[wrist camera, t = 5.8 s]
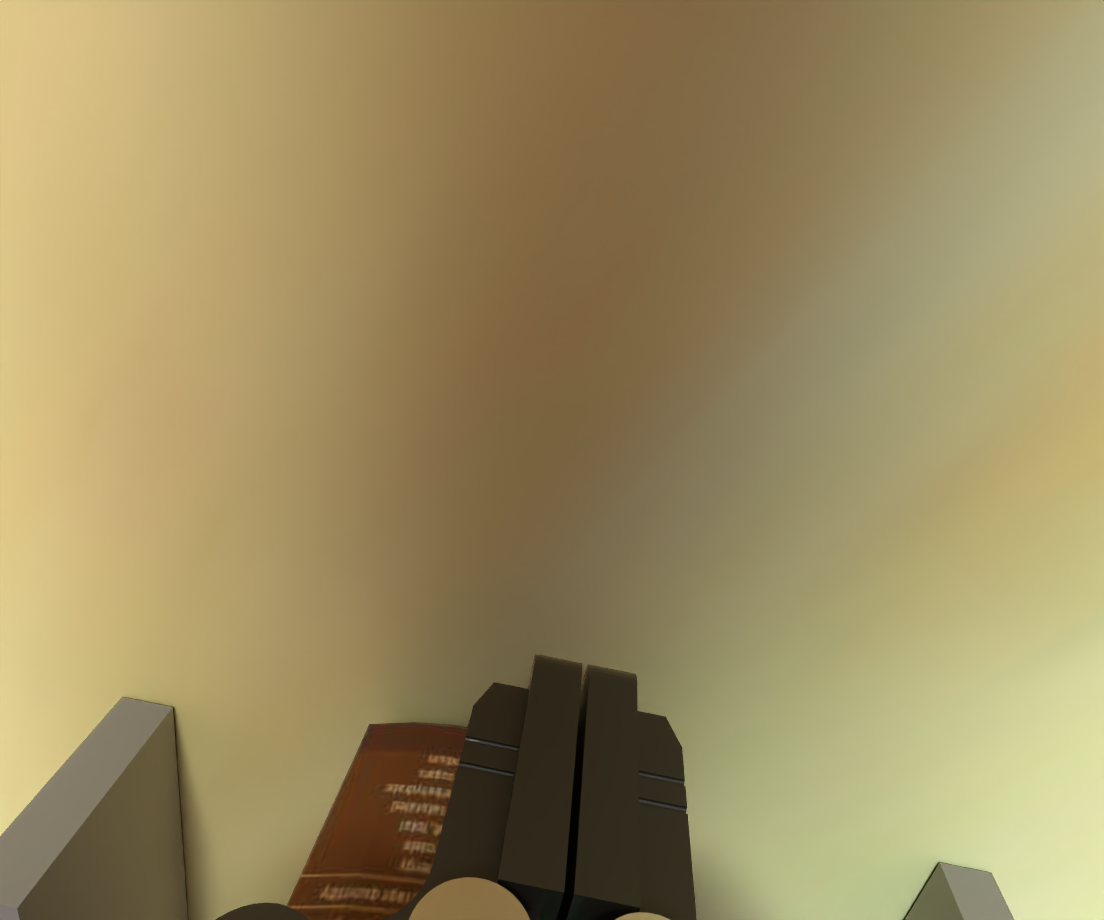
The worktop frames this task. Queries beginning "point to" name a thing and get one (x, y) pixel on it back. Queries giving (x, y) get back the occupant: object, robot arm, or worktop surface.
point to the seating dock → (157, 850)
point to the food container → (382, 824)
